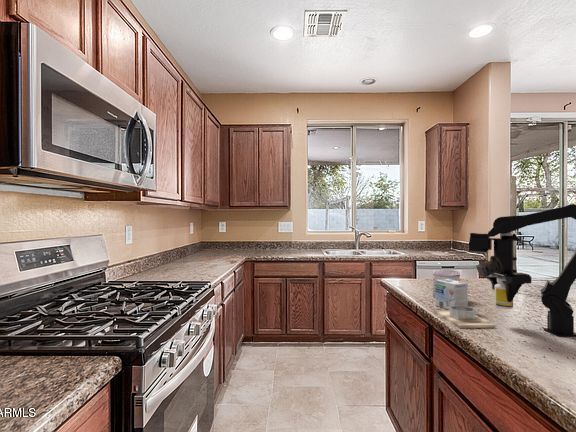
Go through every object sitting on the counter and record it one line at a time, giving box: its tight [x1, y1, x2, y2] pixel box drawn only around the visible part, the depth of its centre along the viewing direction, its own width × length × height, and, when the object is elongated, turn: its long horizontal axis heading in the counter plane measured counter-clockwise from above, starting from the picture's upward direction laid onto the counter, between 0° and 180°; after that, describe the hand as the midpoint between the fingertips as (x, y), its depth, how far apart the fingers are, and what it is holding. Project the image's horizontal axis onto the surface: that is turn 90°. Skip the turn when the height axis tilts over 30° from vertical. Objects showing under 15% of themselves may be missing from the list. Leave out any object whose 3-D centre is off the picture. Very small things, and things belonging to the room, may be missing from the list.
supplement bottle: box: [493, 277, 514, 310], centre depth 117 cm, size 5×5×10 cm
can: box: [432, 269, 461, 299], centre depth 155 cm, size 11×11×12 cm
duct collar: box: [450, 306, 477, 321], centre depth 123 cm, size 8×8×3 cm
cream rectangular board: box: [434, 309, 496, 329], centre depth 123 cm, size 18×12×1 cm, turn 2°
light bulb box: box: [434, 279, 469, 310], centre depth 139 cm, size 11×7×11 cm, turn 19°
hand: (503, 299), depth 117 cm, fingers closed on supplement bottle, 5 cm apart
